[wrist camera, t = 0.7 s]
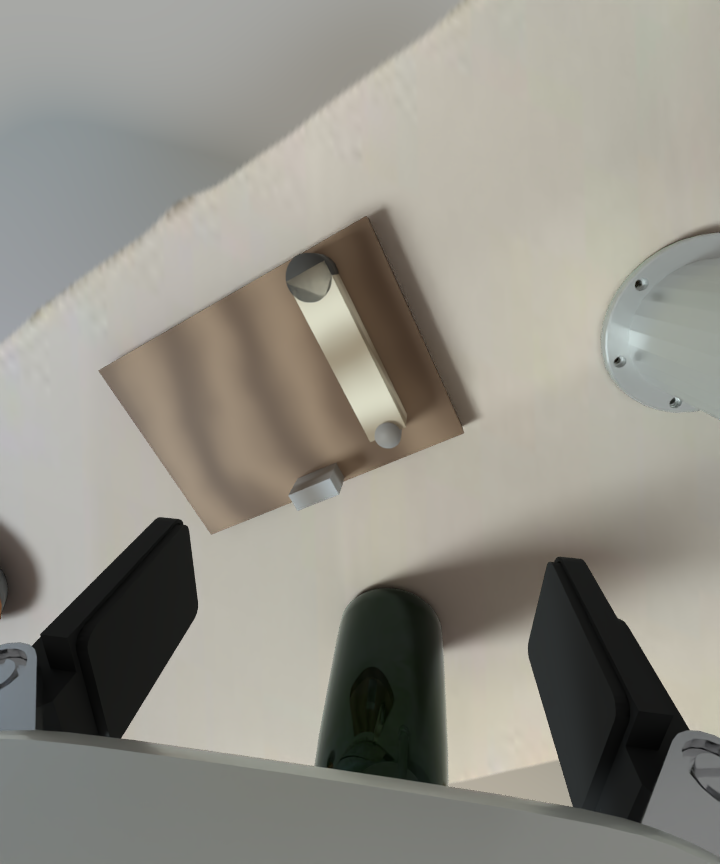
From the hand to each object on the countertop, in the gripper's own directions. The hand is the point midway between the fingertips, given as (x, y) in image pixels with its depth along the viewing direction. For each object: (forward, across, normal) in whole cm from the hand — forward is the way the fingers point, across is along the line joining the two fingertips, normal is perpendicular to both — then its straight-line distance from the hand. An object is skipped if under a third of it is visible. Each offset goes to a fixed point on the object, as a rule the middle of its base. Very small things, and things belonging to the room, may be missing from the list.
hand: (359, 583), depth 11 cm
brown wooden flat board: (+26, +10, +3) cm, 28 cm away
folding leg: (+25, +3, -1) cm, 25 cm away
